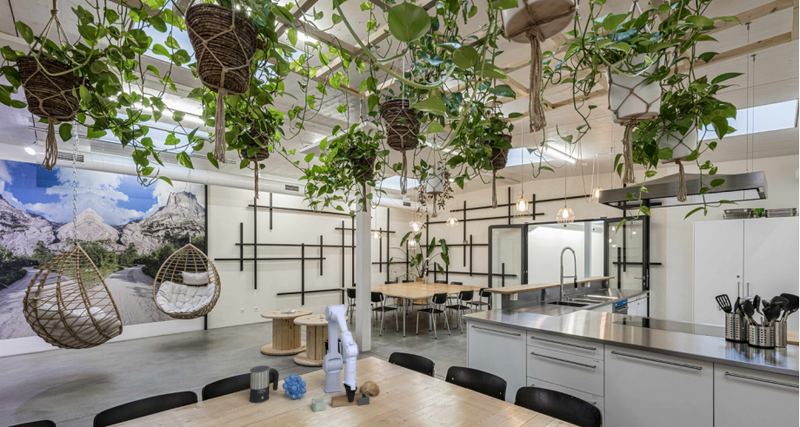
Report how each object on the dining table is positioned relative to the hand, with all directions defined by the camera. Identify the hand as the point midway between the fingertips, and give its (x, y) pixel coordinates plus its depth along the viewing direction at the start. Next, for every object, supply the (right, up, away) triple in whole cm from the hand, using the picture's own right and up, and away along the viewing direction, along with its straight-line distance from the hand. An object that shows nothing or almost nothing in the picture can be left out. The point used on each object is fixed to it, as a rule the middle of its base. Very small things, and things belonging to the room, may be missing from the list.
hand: (350, 400), depth 177 cm
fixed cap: (+6, -2, +2) cm, 6 cm away
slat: (-1, -2, -1) cm, 2 cm away
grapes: (-28, -2, +4) cm, 28 cm away
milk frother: (-47, -3, +9) cm, 48 cm away
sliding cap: (-14, -1, -5) cm, 15 cm away
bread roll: (+8, -3, +13) cm, 15 cm away
